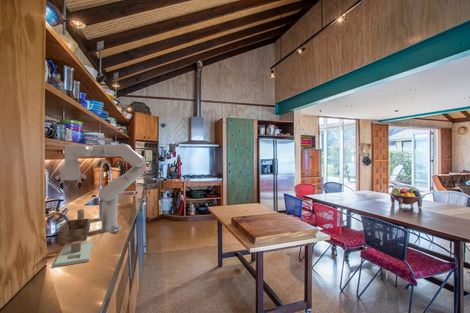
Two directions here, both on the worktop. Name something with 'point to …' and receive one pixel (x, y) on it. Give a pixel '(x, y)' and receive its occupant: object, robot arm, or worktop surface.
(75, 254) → the lid
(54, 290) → the worktop surface
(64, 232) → the brown open box
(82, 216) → the block
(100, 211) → the coffee box
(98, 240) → the worktop surface
